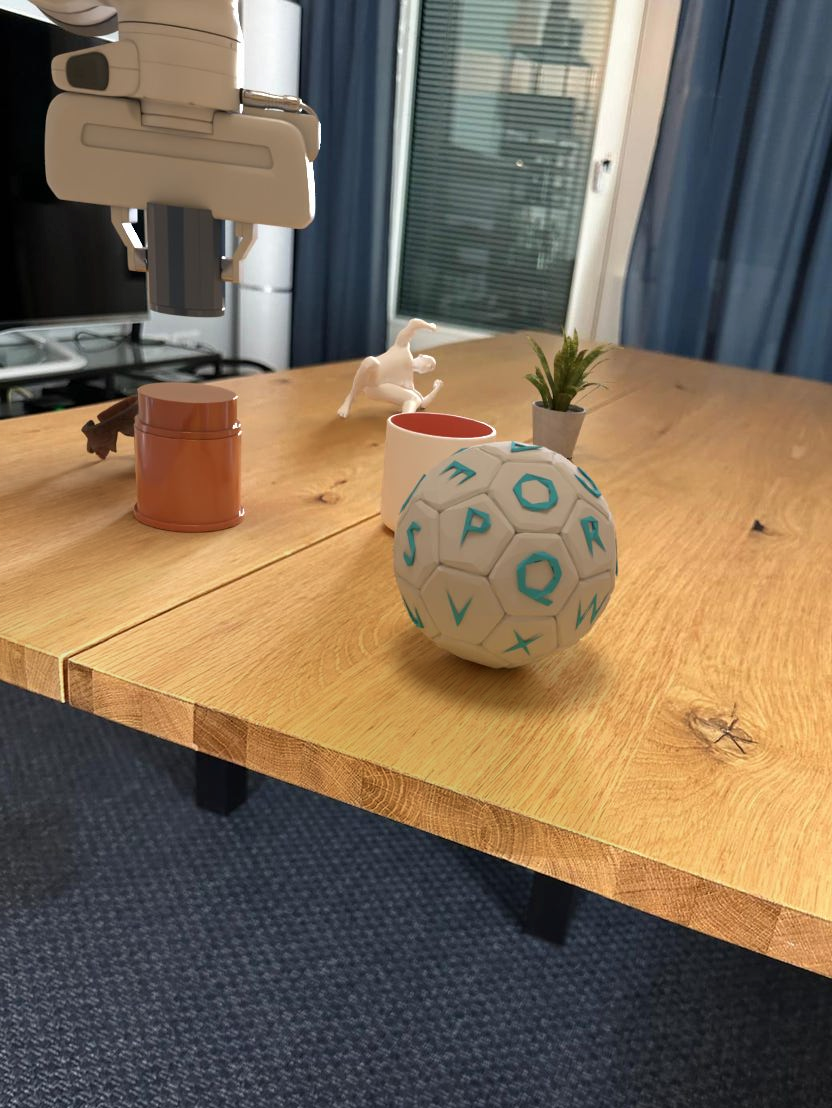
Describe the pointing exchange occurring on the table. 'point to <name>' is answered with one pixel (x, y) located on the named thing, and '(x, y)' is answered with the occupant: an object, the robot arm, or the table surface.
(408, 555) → the puzzle ball
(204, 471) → the orange stepped cylinder
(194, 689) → the table surface
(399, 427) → the cup
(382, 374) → the person figurine
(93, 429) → the dark brown jagged part
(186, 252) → the slate cup
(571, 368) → the house plant
